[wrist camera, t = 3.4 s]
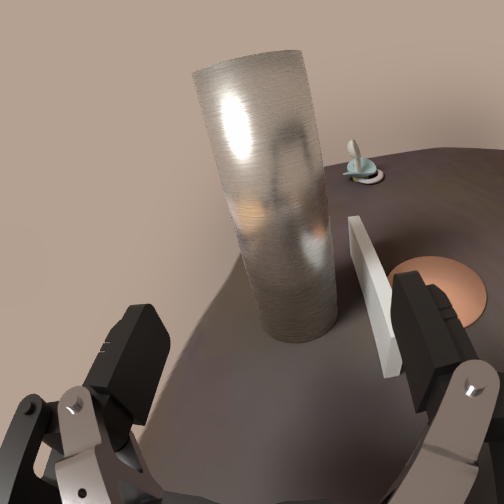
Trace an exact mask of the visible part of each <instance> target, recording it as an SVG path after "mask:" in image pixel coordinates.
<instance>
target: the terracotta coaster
mask: <svg viewBox="0 0 504 504" xmlns="http://www.w3.org/2000/svg"><path fill="white" fill-rule="evenodd" d="M415 270H417V271H418V272H419V273H420V275H421V277H422V279H423V281H424V283H425V284H426V285H430V284H435V285H436V286H437V287H439V288H440V289H441V290H442V291H443V292H445V293H446V295H447V297H448V298H449V300H450V302H451V304H452V308H454V310H455V311H456V313H457V315H458V319H460V321H461V323H462V325H463V327H464V328H467V327H468V326H470V325H472V324H473V323H474V322H475V321H477V320H478V318H479V317H480V316H481V314H482V313H483V310H484V308H485V305H486V299H487V297H486V289H485V287H484V284H483V282H482V280H481V279H480V278H479V276H478V275H477V274H476V273H475V272H474V271H473V270H471V269H470V268H469V267H467V266H466V265H464V264H462V263H460V262H458V261H455V260H452V259H449V258H444V257H437V256H424V257H417V258H413V259H410V260H407V261H405V262H403V263H401V264H399V265H398V266H396V267H395V268H394V269H393V270H392V271H391V273H390V274H389V276H388V277H387V279H388V282H389V284H390V287H391V289H392V285H393V276H394V274H397V273H403V272H409V271H415Z"/></svg>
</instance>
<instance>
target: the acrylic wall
mask: <svg viewBox="0 0 504 504" xmlns="http://www.w3.org/2000/svg"><path fill="white" fill-rule="evenodd" d="M348 224H349V238H350V254H351V258H352V261H353V264H354V267H355V270H356V273H357V277H358V280H359V283H360V287H361V290H362V294H363V297H364V300H365V304H366V308H367V311H368V315H369V319H370V322H371V326H372V330H373V334H374V338H375V342H376V346H377V350H378V354H379V358H380V362H381V367H382V371H383V376H384V378H390V377H395V376H399V374H400V370H401V366H402V358H401V355H400V352H399V348H398V345H397V342H396V338H395V335H394V332H393V329H392V324H391V317H390V308H391V297H392V289H391V287H390V284H389V282H388V279H387V277H386V275H385V272H384V270H383V267H382V265H381V263H380V260H379V258H378V256H377V254H376V251H375V249H374V247H373V245H372V243H371V240H370V238H369V236H368V234H367V232H366V230H365V228H364V225H363V223H362V221H361V219H360V217H359V216H352V217H348Z"/></svg>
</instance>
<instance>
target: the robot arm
mask: <svg viewBox="0 0 504 504" xmlns="http://www.w3.org/2000/svg"><path fill="white" fill-rule="evenodd" d="M390 317H391V324H392V329H393V332H394V335H395V338H396V342H397V345H398V348H399V352H400V355H401V358H402V362H403V365H404V369H405V373H406V376H407V380H408V384H409V388H410V392H411V396H412V400H413V404H414V408H415V412H416V413H420V412H424V411H427V415H428V419H429V421H428V423H427V425H426V427H425V429H424V431H423V433H422V435H421V437H420V439H419V441H418V442H417V444H416V446H415V448H414V450H413V452H412V453H411V455H410V457H409V459H408V461H407V462H406V464H405V466H404V467H403V469H402V471H401V472H400V474H399V475H398V477H397V478H396V480H395V481H394V483H393V484H392V486H391V487H390V488H389V490H388V491H387V493H386V494H385V496H384V497H383V499H382V500H381V501H380V503H379V504H464V502H465V500H466V498H467V496H468V494H469V492H470V490H471V488H472V486H473V483H474V481H475V479H476V476H477V473H478V469H479V465H478V463H477V457H478V454H479V452H480V449H481V447H482V444H483V442H489V446H490V451H491V456H492V462H493V468H494V475H495V483H496V491H497V501H498V504H504V373H499V372H496V370H495V369H494V368H493V367H492V366H491V365H490V364H488V363H487V362H484V361H481V360H479V358H478V357H477V355H476V352H475V350H474V348H473V346H472V344H471V342H470V339H469V337H468V335H467V333H466V331H465V329H464V327H463V325H462V323H461V321H460V319H458V315H457V313H456V311H455V310H454V308H452V304H451V302H450V300H449V298H448V297H447V295H446V293H445V292H443V291H442V290H441V289H440V288H439V287H437V286H436V285H435V284H430V285H426V284H425V283H424V281H423V279H422V277H421V275H420V273H419V272H418V271H417V270H415V271H409V272H403V273H397V274H394V276H393V285H392V297H391V308H390ZM169 351H170V337H169V334H168V332H167V330H166V329H165V327H164V325H163V323H162V321H161V319H160V318H159V316H158V314H157V312H156V310H155V308H154V307H153V306H152V305H151V304H139V305H130V306H129V307H128V309H127V310H126V313H125V314H124V316H123V318H122V320H120V321H119V322H118V323H117V324H116V325H115V326H114V327H113V328H112V329H111V330H110V332H109V334H108V336H107V338H106V339H105V343H103V345H102V347H101V349H100V353H98V355H97V357H96V359H95V361H94V363H93V365H92V367H91V369H90V371H89V373H88V375H87V377H86V379H85V381H84V383H83V385H82V386H76V387H73V388H71V389H69V390H68V391H66V392H65V393H64V395H63V396H62V397H61V399H60V401H56V402H49V403H46V402H45V401H44V400H43V399H42V398H41V397H40V396H39V395H37V394H30V395H28V396H26V397H25V398H24V399H23V400H22V401H21V402H20V404H19V406H18V408H17V410H16V413H15V414H14V417H13V419H12V421H11V424H10V426H9V428H8V431H7V433H6V435H5V438H4V441H3V443H2V446H1V448H0V504H219V503H216V502H213V501H211V500H208V499H205V498H203V497H199V496H192V495H185V494H179V493H174V492H168V491H164V490H163V489H162V488H161V486H160V485H159V484H158V483H157V482H156V481H155V480H154V479H153V477H152V476H151V474H150V472H149V470H148V467H147V465H146V463H145V461H144V458H143V456H142V453H141V451H140V449H139V446H138V444H137V441H136V439H135V436H134V434H133V433H132V431H131V427H132V424H136V425H142V426H145V424H146V421H147V418H148V414H149V411H150V408H151V405H152V402H153V399H154V396H155V393H156V390H157V386H158V383H159V380H160V377H161V374H162V371H163V368H164V365H165V362H166V359H167V356H168V354H169ZM42 441H43V442H44V443H45V444H47V445H48V446H50V447H51V448H52V450H51V453H50V456H49V459H48V462H47V465H46V468H45V471H44V475H43V477H42V478H38V477H37V476H36V475H35V473H34V470H33V465H34V462H35V459H36V456H37V453H38V450H39V447H40V445H41V442H42ZM277 504H331V499H322V500H308V501H286V502H282V503H277Z"/></svg>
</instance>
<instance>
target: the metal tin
mask: <svg viewBox="0 0 504 504" xmlns="http://www.w3.org/2000/svg"><path fill="white" fill-rule="evenodd" d="M192 77H193V80H194V84H195V88H196V92H197V95H198V99H199V103H200V106H201V110H202V114H203V117H204V121H205V125H206V128H207V132H208V135H209V139H210V143H211V147H212V150H213V154H214V158H215V161H216V165H217V169H218V172H219V175H220V179H221V183H222V187H223V190H224V193H225V197H226V201H227V204H228V208H229V211H230V215H231V219H232V222H233V226H234V229H235V233H236V236H237V240H238V243H239V247H240V250H241V254H242V258H243V261H244V265H245V268H246V271H247V275H248V278H249V282H250V285H251V289H252V292H253V296H254V299H255V303H256V306H257V310H258V313H259V317H260V320H261V323H262V326H263V329H264V330H265V332H266V333H267V334H268V335H269V336H271V337H272V338H274V339H276V340H278V341H282V342H286V343H303V342H308V341H311V340H314V339H316V338H318V337H320V336H322V335H324V334H325V333H326V332H328V331H329V330H330V329H331V327H332V326H333V325H334V323H335V321H336V319H337V315H338V307H337V290H336V276H335V264H334V252H333V242H332V232H331V222H330V214H329V205H328V197H327V189H326V182H325V175H324V168H323V162H322V155H321V148H320V142H319V136H318V130H317V125H316V119H315V113H314V108H313V103H312V98H311V93H310V88H309V83H308V79H307V73H306V69H305V64H304V60H303V56H302V52H301V51H300V50H285V51H274V52H267V53H260V54H255V55H249V56H244V57H240V58H235V59H232V60H228V61H224V62H220V63H217V64H214V65H211V66H208V67H205V68H202V69H200V70H197V71H195V72H194V73H192Z"/></svg>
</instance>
